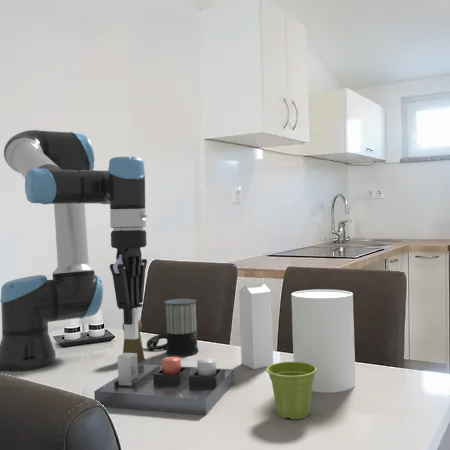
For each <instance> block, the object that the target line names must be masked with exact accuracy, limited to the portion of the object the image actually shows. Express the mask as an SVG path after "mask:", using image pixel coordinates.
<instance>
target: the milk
mask: <svg viewBox="0 0 450 450" xmlns="http://www.w3.org/2000/svg"><path fill="white" fill-rule="evenodd" d="M238 293H239V296H238V297H239V323H240V326H239V328H240V356H241V357H240V358H241V359H240V360H241V361H240V362H241V365H242V366H246V367H248V368H249V369H252V370H258V369H262V368H267V367H268V366H270V365H272V364H274V348H273V347H274V345H273V344H274V343H273V316H272V315H273V312H272V291H271V289H269V287H268V286H267V285H266V284H265V278H264V277H262V278H261V277H260V278H252V279H251V278H250V279H245V280H244V286H243V287H242V288H241V289H240V290H239V292H238Z"/></svg>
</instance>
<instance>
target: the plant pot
mask: <svg viewBox="0 0 450 450" xmlns="http://www.w3.org/2000/svg"><path fill="white" fill-rule="evenodd" d="M316 371H317V368H316V367H315V366H314V365H312V364H308V363H303V362H294V361H282V362H281V361H280V362H276V363H273V364H272V365H270V366H268V367H266V373H268V374H269V379H270V381H271V386H272V391H273V396H274V397H273V398H274V401H275V403H274V404H275V409H276V414H277V416H279V417H280V418H283V419H287V418H289V419H291V420H301V419H305V418H308V417H309V414H310V412H311V404H312V403H311V401H312V393H313V391H312V383H313V379H314V375H315V373H316Z"/></svg>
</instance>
